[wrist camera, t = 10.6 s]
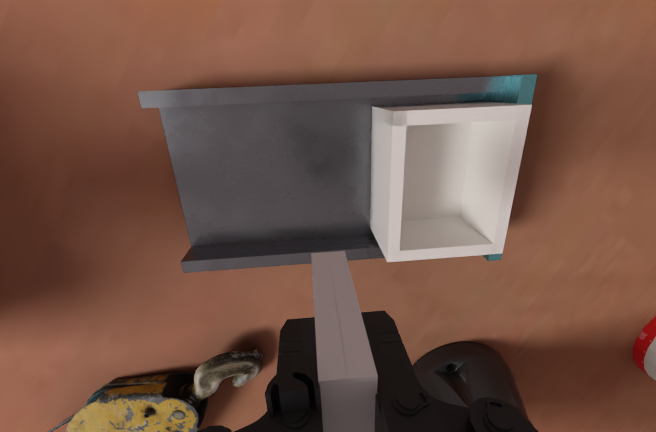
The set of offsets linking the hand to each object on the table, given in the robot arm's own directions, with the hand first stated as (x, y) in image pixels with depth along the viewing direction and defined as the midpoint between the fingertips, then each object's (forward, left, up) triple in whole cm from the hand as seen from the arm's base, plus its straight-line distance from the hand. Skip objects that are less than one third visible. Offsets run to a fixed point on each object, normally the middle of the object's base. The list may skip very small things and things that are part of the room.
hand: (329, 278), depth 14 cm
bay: (-2, -1, -18) cm, 19 cm away
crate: (-9, -5, -17) cm, 20 cm away
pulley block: (+6, +35, -19) cm, 40 cm away
